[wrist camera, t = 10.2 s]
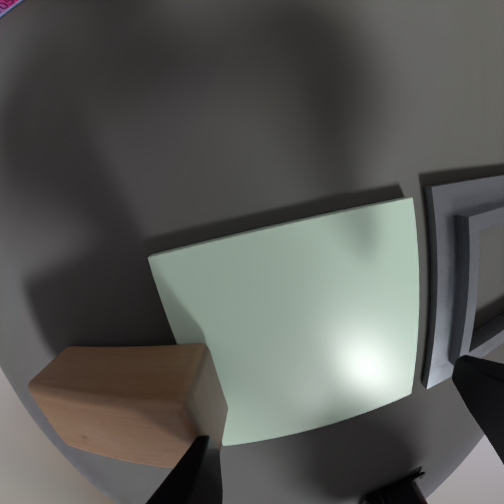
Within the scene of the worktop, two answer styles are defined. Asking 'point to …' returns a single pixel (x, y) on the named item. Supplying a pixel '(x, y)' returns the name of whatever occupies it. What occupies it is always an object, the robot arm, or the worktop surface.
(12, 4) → the ink cartridge box
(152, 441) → the wooden block
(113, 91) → the worktop surface
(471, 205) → the socket
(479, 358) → the robot arm
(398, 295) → the pad
